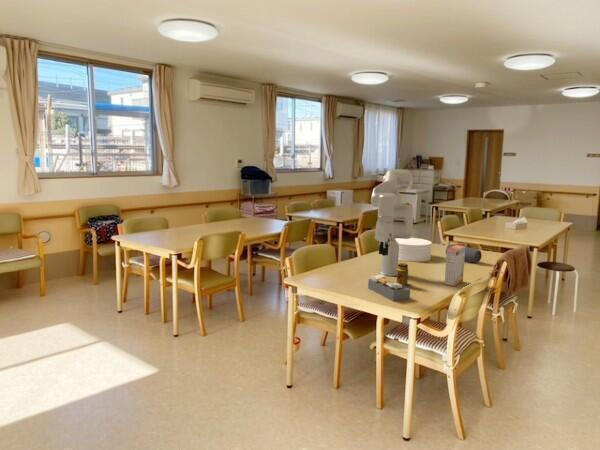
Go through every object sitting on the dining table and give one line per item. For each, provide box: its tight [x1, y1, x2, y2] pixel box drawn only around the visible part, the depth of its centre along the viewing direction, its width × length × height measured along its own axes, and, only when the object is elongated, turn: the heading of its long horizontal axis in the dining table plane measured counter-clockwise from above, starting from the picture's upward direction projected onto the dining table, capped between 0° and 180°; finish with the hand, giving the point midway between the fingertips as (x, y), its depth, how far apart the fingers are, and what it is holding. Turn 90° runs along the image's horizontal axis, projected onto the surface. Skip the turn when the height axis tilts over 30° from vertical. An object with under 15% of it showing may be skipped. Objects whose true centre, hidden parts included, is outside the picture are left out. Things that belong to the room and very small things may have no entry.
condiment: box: [396, 262, 412, 288], centre depth 253 cm, size 7×8×12 cm
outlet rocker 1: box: [370, 273, 387, 282], centre depth 242 cm, size 6×4×2 cm
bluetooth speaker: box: [445, 244, 483, 263], centre depth 315 cm, size 23×9×10 cm, turn 37°
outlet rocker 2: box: [379, 278, 395, 284], centre depth 236 cm, size 6×4×2 cm
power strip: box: [367, 278, 411, 302], centre depth 237 cm, size 10×23×5 cm, turn 24°
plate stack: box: [395, 237, 433, 262], centre depth 323 cm, size 28×28×12 cm
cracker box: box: [444, 244, 466, 287], centre depth 258 cm, size 14×6×21 cm, turn 141°
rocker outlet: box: [386, 282, 402, 289], centre depth 229 cm, size 6×4×2 cm
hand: (383, 254), depth 232 cm, fingers closed
